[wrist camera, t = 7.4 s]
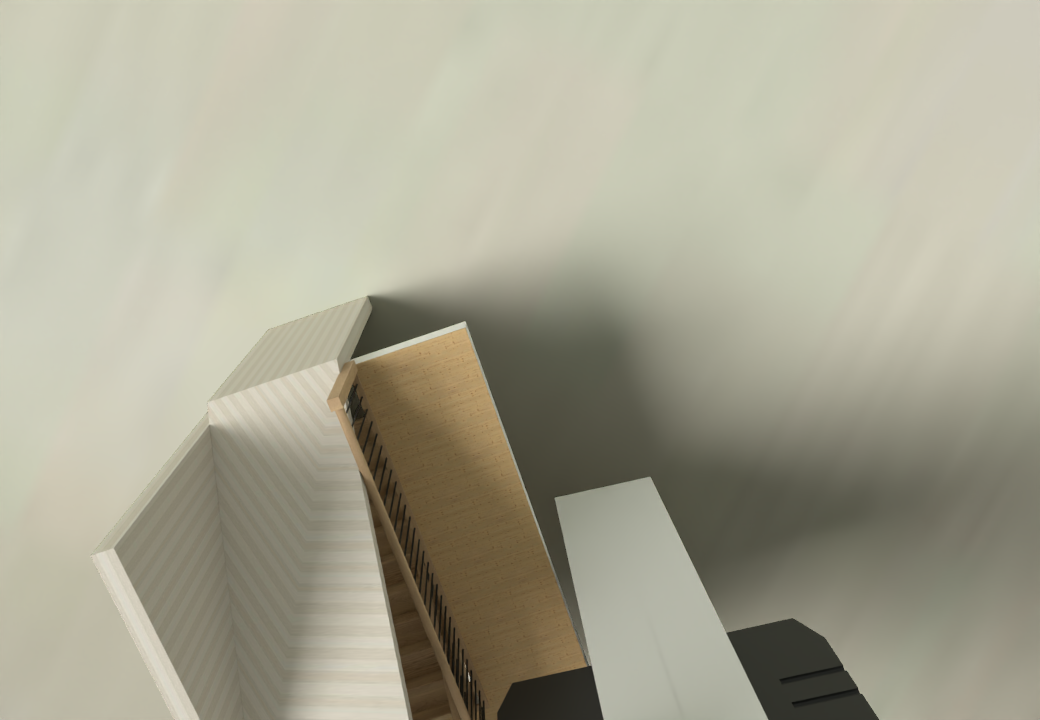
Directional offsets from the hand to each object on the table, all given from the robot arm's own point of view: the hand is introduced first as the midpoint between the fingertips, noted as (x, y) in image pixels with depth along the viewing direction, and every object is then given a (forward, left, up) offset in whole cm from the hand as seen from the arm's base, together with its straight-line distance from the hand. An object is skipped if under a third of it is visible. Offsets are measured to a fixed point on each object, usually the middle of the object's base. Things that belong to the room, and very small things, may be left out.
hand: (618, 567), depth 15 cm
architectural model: (-4, +2, -2) cm, 4 cm away
